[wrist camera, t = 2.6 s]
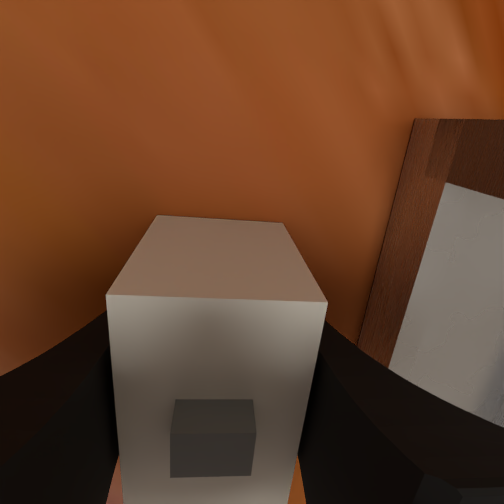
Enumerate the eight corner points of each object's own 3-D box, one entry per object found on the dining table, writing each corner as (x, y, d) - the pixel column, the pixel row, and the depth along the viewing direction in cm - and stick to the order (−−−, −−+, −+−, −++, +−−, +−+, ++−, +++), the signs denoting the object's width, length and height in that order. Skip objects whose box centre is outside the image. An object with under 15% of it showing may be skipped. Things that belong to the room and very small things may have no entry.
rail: (448, 486, 17) (536, 630, 12) (320, 489, 16) (361, 646, 11) (612, 139, 11) (930, 157, 6) (415, 118, 10) (596, 121, 5)
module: (263, 368, 13) (292, 543, 8) (159, 367, 13) (114, 552, 7) (282, 222, 11) (342, 327, 5) (157, 214, 10) (88, 320, 5)
